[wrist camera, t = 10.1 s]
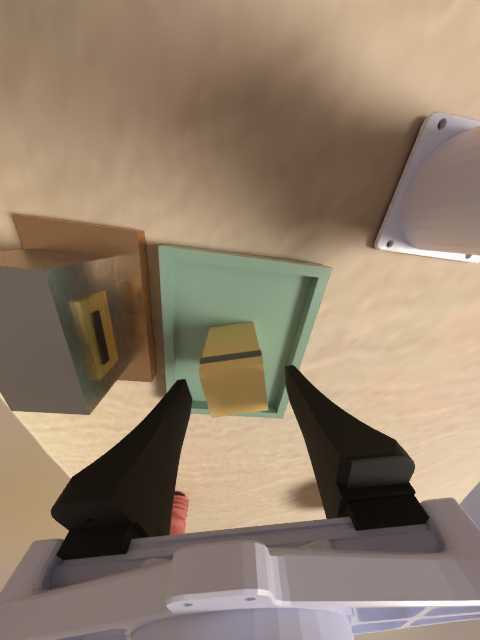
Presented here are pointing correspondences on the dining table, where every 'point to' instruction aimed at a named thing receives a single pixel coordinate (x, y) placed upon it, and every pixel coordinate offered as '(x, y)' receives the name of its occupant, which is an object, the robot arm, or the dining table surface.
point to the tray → (237, 313)
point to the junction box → (72, 315)
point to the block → (233, 371)
